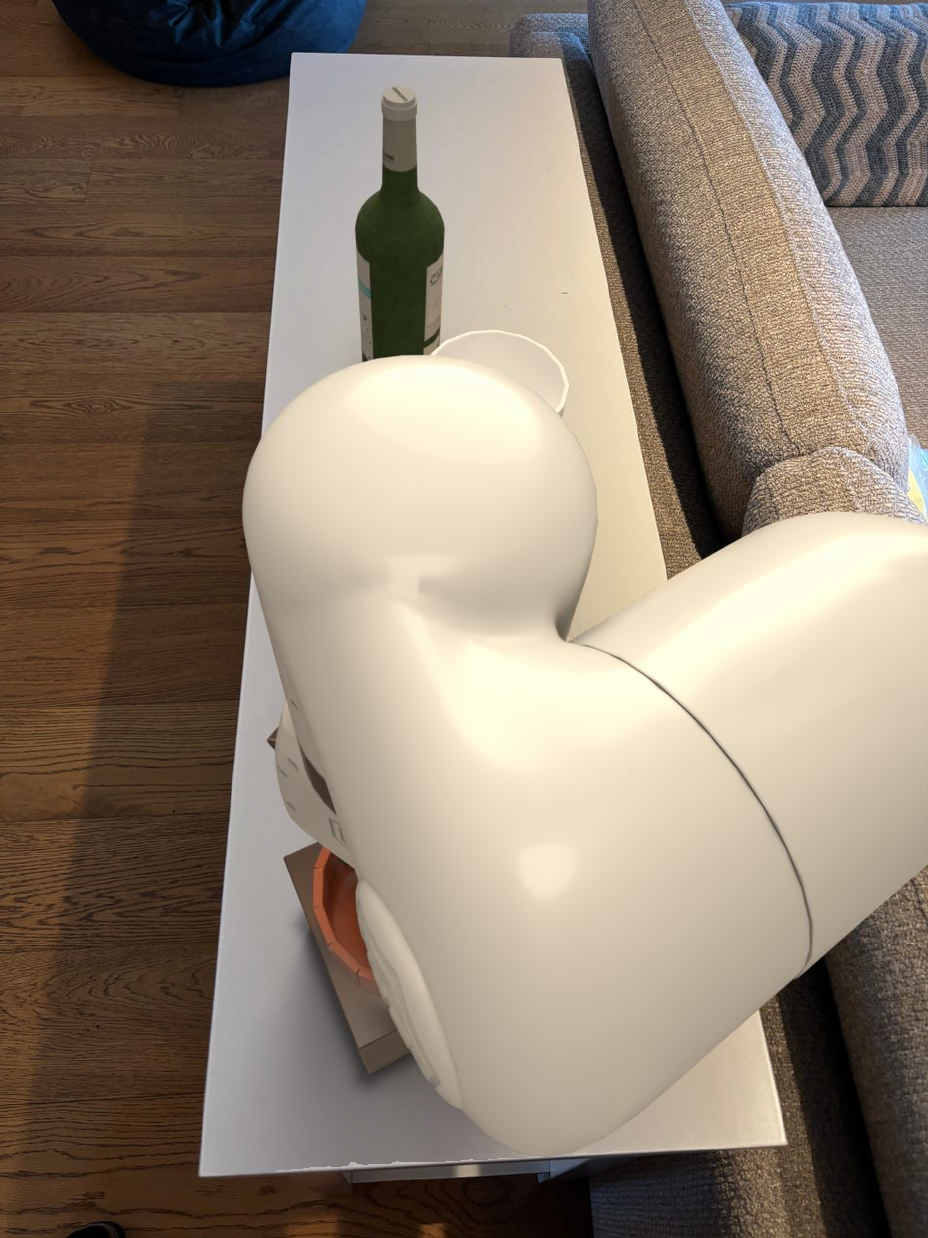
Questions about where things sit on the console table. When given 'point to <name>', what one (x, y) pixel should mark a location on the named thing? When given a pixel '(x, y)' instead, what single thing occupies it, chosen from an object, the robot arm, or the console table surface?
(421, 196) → the wine bottle
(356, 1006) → the stand
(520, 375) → the cup
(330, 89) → the console table surface
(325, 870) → the bowl
